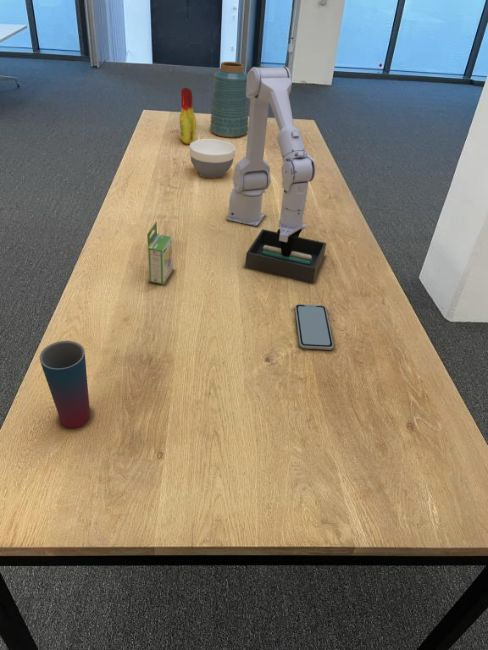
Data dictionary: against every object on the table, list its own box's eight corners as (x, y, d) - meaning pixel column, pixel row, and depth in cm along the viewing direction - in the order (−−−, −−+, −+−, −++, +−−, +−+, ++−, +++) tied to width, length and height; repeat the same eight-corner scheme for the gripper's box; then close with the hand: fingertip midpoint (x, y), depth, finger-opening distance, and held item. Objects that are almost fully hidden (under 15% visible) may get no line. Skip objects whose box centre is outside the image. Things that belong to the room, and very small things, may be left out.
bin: (245, 267, 132) (246, 252, 129) (260, 243, 142) (262, 228, 139) (312, 283, 128) (315, 268, 125) (323, 257, 138) (326, 242, 136)
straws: (261, 255, 135) (261, 247, 133) (264, 251, 137) (264, 242, 135) (309, 266, 132) (311, 258, 130) (311, 261, 134) (313, 253, 132)
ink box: (164, 285, 123) (162, 236, 114) (148, 282, 123) (146, 234, 115) (173, 270, 128) (172, 223, 120) (158, 268, 128) (156, 220, 120)
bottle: (178, 136, 208) (178, 84, 196) (194, 136, 209) (194, 84, 197) (180, 146, 199) (180, 92, 187) (196, 146, 200) (197, 92, 188)
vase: (233, 141, 208) (237, 70, 191) (202, 132, 214) (203, 63, 197) (254, 132, 219) (260, 64, 202) (224, 123, 225) (226, 57, 208)
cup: (59, 403, 91) (44, 340, 82) (98, 402, 92) (87, 340, 82) (51, 433, 86) (34, 369, 76) (92, 432, 86) (80, 369, 77)
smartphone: (300, 346, 107) (294, 303, 118) (299, 349, 107) (294, 306, 119) (334, 347, 107) (325, 305, 119) (333, 350, 108) (325, 308, 119)
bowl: (242, 177, 178) (244, 150, 172) (203, 185, 171) (204, 157, 165) (218, 162, 188) (219, 136, 182) (181, 169, 181) (181, 142, 175)
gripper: (302, 221, 119) (294, 270, 127) (314, 198, 130) (307, 244, 138) (273, 215, 120) (268, 264, 128) (288, 192, 131) (282, 239, 139)
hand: (286, 253), depth 133 cm, fingers closed on straws
